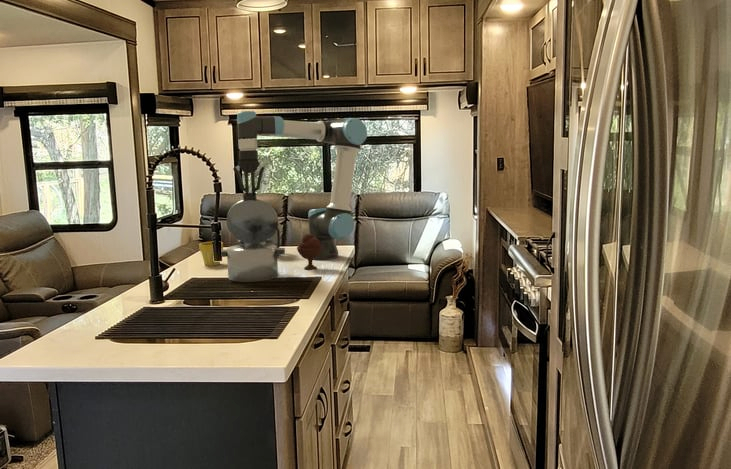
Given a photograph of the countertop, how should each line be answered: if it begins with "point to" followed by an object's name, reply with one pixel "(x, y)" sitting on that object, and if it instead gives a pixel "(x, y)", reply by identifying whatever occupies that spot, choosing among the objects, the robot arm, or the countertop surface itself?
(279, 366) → the countertop surface
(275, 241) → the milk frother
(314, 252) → the ice cream bowl
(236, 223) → the cooker lid
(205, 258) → the plant pot
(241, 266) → the cooker pot
